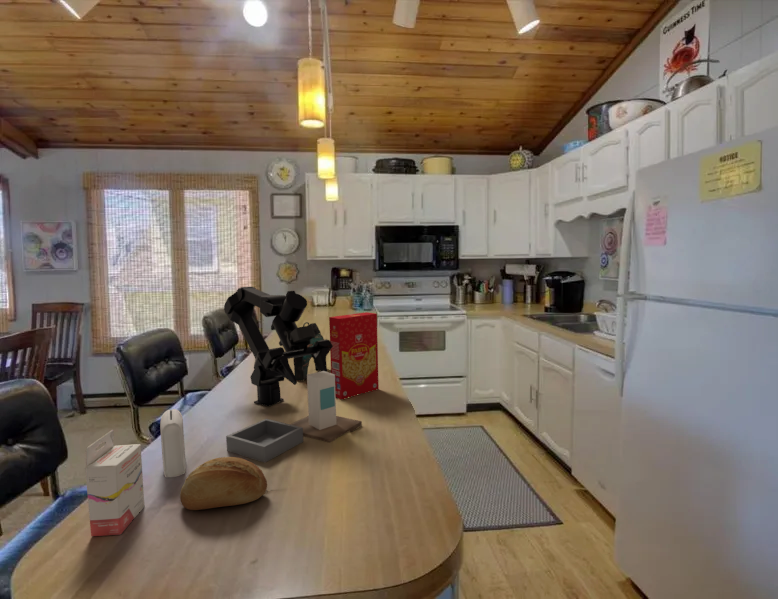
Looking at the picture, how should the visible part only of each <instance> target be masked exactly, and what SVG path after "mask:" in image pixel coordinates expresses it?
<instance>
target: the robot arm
mask: <svg viewBox="0 0 778 599" xmlns="http://www.w3.org/2000/svg"><path fill="white" fill-rule="evenodd" d="M307 306H308V300H307V299H306V297H304V296H303V295H301V294H299V293H296V291H295V290H288V291H286V295H282V294H269V293H266V292H264V291H262V290H259V289H257V288H256V287H255V286H242V287H239V288H237V290H236V291H235V292H234V293H233V294H231V295H230V296H228V297H227V299H226V301H225V303H224V305H223V310H224V313H225V315H226V316H227V317H228V318H229V321H231V322H233V323H235V324H236V325H238V326H239V329H240V330H241V332H242V334H243V337H244V339H245V341H246V342H247V345H248V347H249V350H251V353H252V354H253V356H254V364H253V371H252V373H251V375H250V382H251V385H253V386H256V390H257V400H254V401H253V404H255V405H260V406H263V407H271V406H274V405H276V404H279V403H281V402H283V401H285V399H284V398H282V397H281V387H280V382H284V381H285V379H286V380H288V381H289V382H290V384H291V383H292V384H293V385H297V384H298V380H296V378H295V374H294V372H293V370H292V368H291V366H290V364H289V359H294V358H296V357H301V356H306V355H311V356H312V358H311V359H313V358H314V359H315V360H314V359H313V364H314V365H315V364H316V366H317V367H318V369H319V370H318V371H319V372H321V371H326V372H328V368H327V356H328V354H329V353H330V350H331V348H332V347H333V345H332V343H331V342H330V339H327V338H326V339H324V340H320V341H316V343H315V344H314V346H313V347H309V348H308V347H307V345H309V344H310V339H312V338H315V336H316V335H317V334H319V330H320V329H319V326H318V325H317V323H316V322H312V323H309V325H308V324H307V325H305V326H304V327H303V326H299V327H298V326H297V324H296V322H299V320H300V319H301V317H302V315H303V313H304V312H305V310H306V308H307ZM255 307H257V308H259V312H260V313H261V314H262V315H263V316H264V317H266V318H273V319H272V324H271V325H270V330H271V331H275V332H276V334H277V336H278V339H279V341H278V345H279V346H280V347H274V348H270V347H269V346H268V344H267V342H266V340H265V338H264V336H263V334H262V332H261V330H260V328H259V327H258V325H257V322H256V321H255V319H254V317H253V315H254V310H255Z"/></svg>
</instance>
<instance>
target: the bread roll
mask: <svg viewBox="0 0 778 599" xmlns="http://www.w3.org/2000/svg"><path fill="white" fill-rule="evenodd" d="M267 489H268V481H267V479H266V477H265V474H264V473H263V471H262V469H261V468H260V467H258V466H257V465H256V464H255V463H254V462H251V461H249V460H247V459H244V458H242V457H238V456H236V457H235V456H224V457H223V456H222V457H216V458H212V459H209V460H207V461H205V462H203V463H202V464H200V465H199V466H198V467H195V469H193V470H192V471H191V472H190V473H189V474H188V476H187V477H186V478H185V480H184V483H183V484H182V486H181V488H180V493H179V494H180V495H179V501H180V502H181V503H180V504H181V505H182V507H183V508H185V509H186V510H190V511H199V510H200V511H202V510H208V509H215V508H221V507H229V506H233V507H234V506H238V505H239V506H240V505H245V504H248V503H251V502H254V501H257V500H258V499H261V497H262V496H264V495H265V493H266V491H267Z"/></svg>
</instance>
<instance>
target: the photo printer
mask: <svg viewBox="0 0 778 599" xmlns="http://www.w3.org/2000/svg"><path fill="white" fill-rule="evenodd" d="M159 424H160V425H159V426H160V427H159V428H160V429H159V430H160V444H161V456H162V468H163V475H164V477H165V478H176V477H179V476H182V475H183V474H184V475H185V473H186V471H187V470H186V469H187V468H186V467H187V461H186V460H187V458H186V448H185V434H184V432H185V431H184V417H183V415H182V413H181V412H180V411H179V409H176V408H173V409H167V410H166V411H164V413H163V414H162V415H161V418H160V423H159Z"/></svg>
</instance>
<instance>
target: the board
mask: <svg viewBox="0 0 778 599" xmlns="http://www.w3.org/2000/svg"><path fill="white" fill-rule="evenodd" d="M289 424H290V425H294V426H298V427H303V437H307V438H311V439H315V440H319V441H323V442H327V443H331V442H333V441H335V440H337V439H338V438H340V437H341V436H344V435H345V434H347V433H348V432H350V433H352V432H354V431H356V430H357V429H359V428H361V427H362V426H363V424H362V420H357V419H352V418H349V417H343V416H339V415H336V424H337V425H334V426H331V427H327V428H324V429H321V430H319V429H317V428H315V427H313V426H311V425H309V415H307V416H305V417H303V418H301V419H299V420H297V421H294V422H292V423H289ZM358 427H359V428H358ZM353 430H354V431H353Z"/></svg>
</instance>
